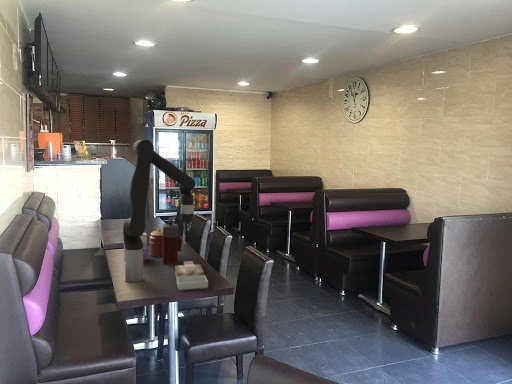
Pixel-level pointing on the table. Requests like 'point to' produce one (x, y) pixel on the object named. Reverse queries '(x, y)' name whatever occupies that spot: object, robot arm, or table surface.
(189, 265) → the white tile
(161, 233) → the canister
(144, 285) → the table surface
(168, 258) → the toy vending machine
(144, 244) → the candy box
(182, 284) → the grey tray
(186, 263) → the terracotta tile
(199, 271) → the birch board
